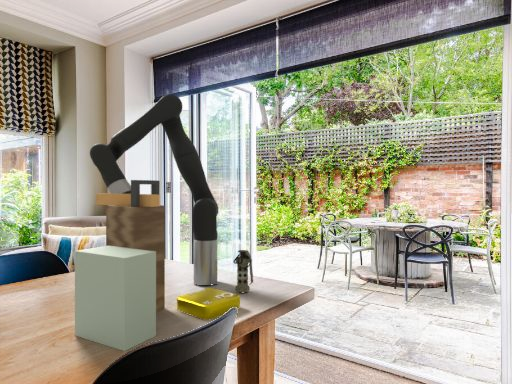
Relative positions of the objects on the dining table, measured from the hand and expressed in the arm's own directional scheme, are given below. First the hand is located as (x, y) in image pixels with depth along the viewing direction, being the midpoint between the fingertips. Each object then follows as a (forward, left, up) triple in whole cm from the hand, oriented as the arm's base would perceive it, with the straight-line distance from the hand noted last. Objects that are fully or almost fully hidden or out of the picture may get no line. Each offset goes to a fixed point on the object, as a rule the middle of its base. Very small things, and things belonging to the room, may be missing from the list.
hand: (145, 234), depth 128 cm
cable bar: (+3, +13, +11) cm, 17 cm away
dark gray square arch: (-4, +18, +11) cm, 21 cm away
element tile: (-22, +16, -22) cm, 35 cm away
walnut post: (0, +16, -21) cm, 26 cm away
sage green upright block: (+1, +35, -21) cm, 40 cm away
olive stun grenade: (-34, 0, -21) cm, 40 cm away
